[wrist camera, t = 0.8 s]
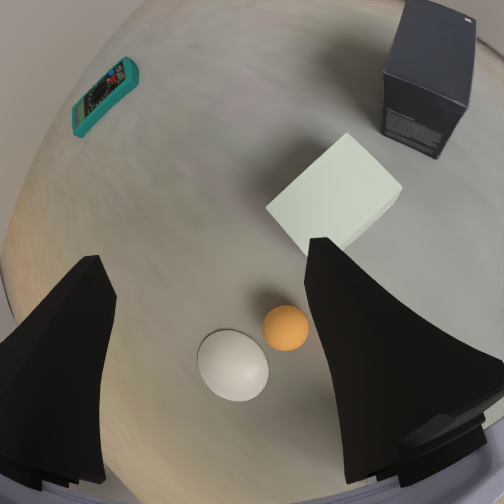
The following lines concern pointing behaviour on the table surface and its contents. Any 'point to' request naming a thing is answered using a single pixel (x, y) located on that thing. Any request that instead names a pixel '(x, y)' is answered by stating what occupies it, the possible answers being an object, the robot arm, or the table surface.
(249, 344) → the white round disc
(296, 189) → the pale green block
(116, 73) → the digital multimeter
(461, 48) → the small box
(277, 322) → the ball
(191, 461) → the table surface
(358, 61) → the table surface
